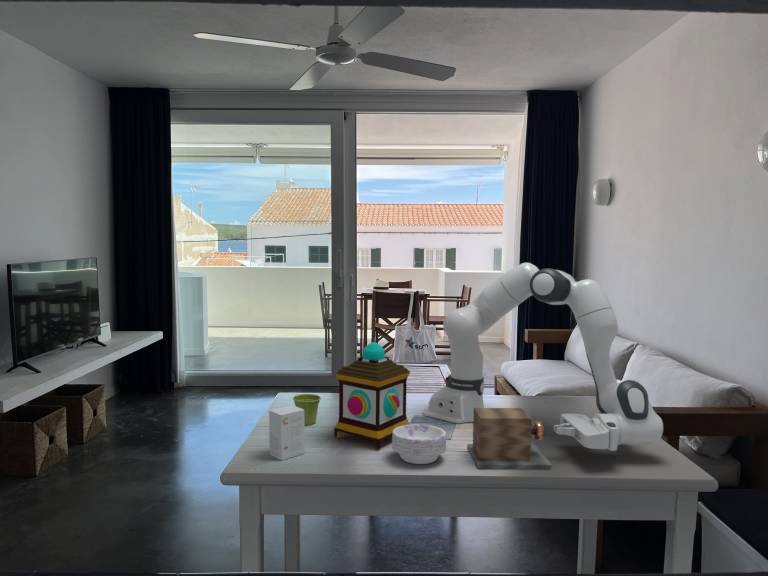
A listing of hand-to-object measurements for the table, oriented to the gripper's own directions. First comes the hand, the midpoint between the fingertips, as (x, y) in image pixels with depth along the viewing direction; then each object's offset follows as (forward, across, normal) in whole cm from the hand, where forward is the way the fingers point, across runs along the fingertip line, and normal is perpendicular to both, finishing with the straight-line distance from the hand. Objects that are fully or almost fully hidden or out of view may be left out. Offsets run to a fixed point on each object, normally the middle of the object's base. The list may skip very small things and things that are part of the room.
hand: (555, 429), depth 158 cm
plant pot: (+74, -31, +8) cm, 80 cm away
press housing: (+13, 0, +8) cm, 16 cm away
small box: (+76, -3, +8) cm, 77 cm away
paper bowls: (+39, 0, +8) cm, 40 cm away
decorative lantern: (+52, -18, +8) cm, 55 cm away
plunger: (+13, 0, +3) cm, 13 cm away
